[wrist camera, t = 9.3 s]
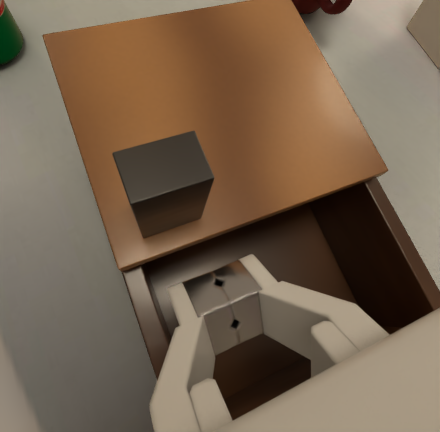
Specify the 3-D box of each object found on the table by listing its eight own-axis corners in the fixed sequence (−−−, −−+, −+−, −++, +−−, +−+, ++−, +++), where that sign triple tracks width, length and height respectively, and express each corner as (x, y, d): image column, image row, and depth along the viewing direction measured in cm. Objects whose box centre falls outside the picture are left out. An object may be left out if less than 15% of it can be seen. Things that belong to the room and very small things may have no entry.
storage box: (187, 430, 20) (196, 502, 13) (122, 238, 23) (99, 204, 16) (375, 331, 24) (468, 340, 17) (299, 177, 27) (348, 127, 20)
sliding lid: (120, 272, 15) (91, 250, 9) (47, 45, 18) (-8, -73, 12) (380, 176, 19) (467, 120, 13) (284, 4, 22) (322, -99, 16)
